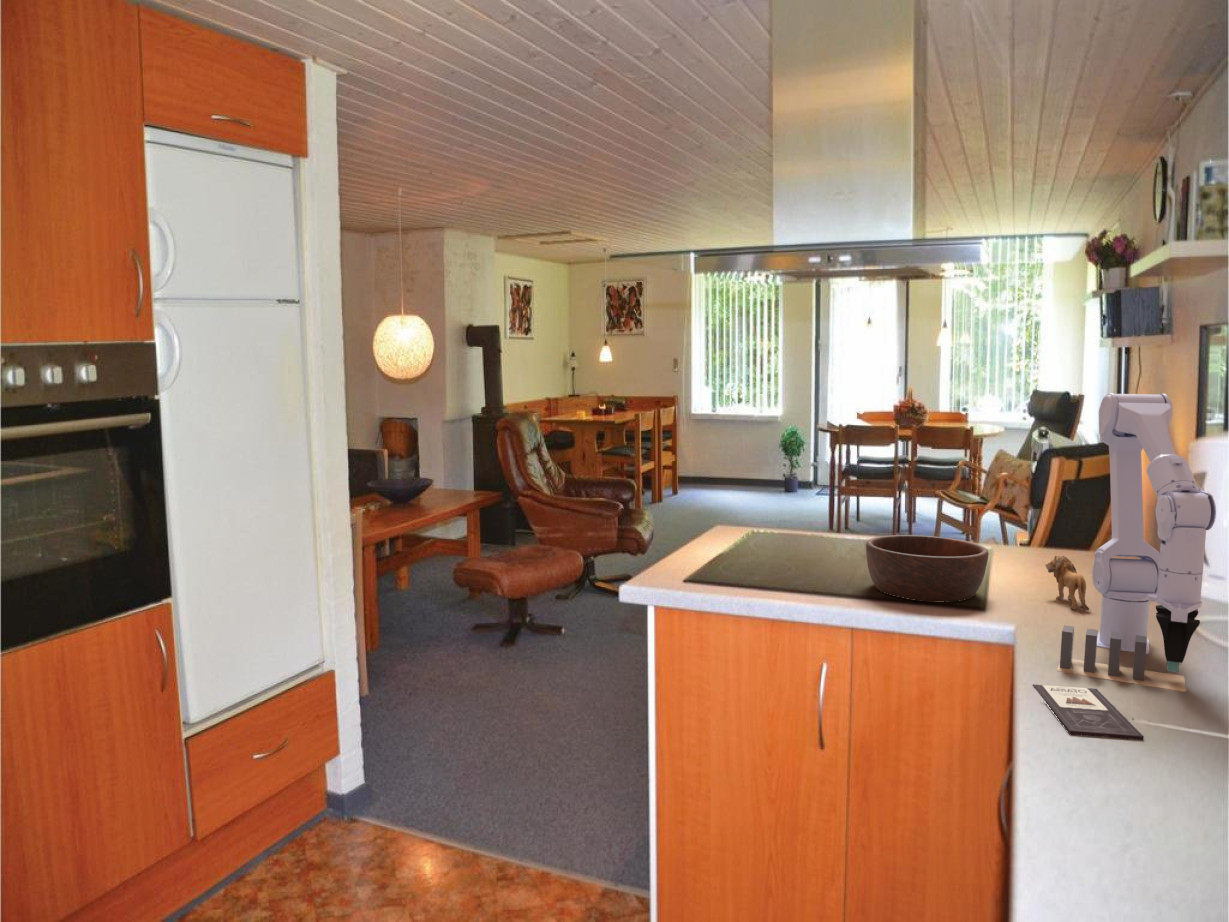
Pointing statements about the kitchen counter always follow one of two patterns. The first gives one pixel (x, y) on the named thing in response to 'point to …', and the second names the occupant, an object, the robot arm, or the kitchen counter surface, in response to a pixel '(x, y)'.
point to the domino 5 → (1172, 666)
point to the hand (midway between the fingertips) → (1173, 657)
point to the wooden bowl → (926, 567)
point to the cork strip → (1129, 676)
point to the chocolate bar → (1087, 712)
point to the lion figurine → (1068, 580)
